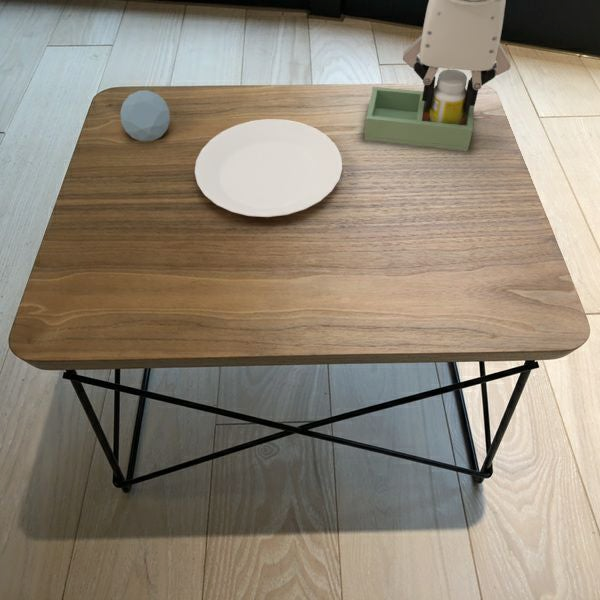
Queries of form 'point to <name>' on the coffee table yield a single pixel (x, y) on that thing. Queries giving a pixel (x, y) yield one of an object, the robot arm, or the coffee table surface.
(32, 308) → the coffee table surface
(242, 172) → the plate
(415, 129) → the holder
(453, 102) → the supplement bottle
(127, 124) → the gemstone
